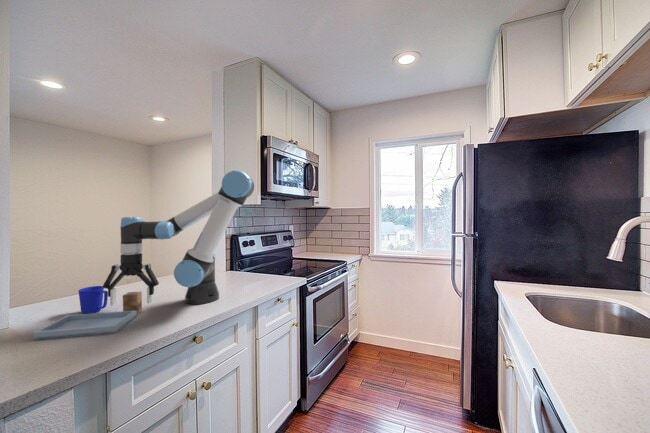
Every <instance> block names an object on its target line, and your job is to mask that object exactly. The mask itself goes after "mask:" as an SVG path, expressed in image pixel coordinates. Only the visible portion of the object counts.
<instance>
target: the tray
mask: <svg viewBox="0 0 650 433" xmlns="http://www.w3.org/2000/svg"><path fill="white" fill-rule="evenodd" d="M137 314H138V313H137V310H135V311H123V310H121V311H111V312H110V311H107V312H95V313H89V314H84V313H82V314H67V315H66V316H64V317H62V318H60V319H57V320H56V321H54V322H51V323H50V324H47V325H46V326H44V327H42V328H40V329H38V330H36V331H34V332H33V333H32V334H33V340H34V341H37V340H38V341H39V340H52V339H61V338H62V339H65V338H74V337H86V336H98V334H100V335H109V333H112V334H116V333H117V332H118V331H120V330H122V329H123V328H124V327H125V326H127V325H128V324H129V323H130V322H132V321H133V320H134V319H136V318H137V316H138V315H137ZM122 327H123V328H122Z"/></svg>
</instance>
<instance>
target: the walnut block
mask: <svg viewBox="0 0 650 433" xmlns="http://www.w3.org/2000/svg"><path fill="white" fill-rule="evenodd" d="M135 310H137V314H138V313H140V312H141V311H142V310H143V293H142V291H129V292H126V293H125V294H123V295H122V311H135Z"/></svg>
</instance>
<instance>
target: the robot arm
mask: <svg viewBox="0 0 650 433" xmlns="http://www.w3.org/2000/svg"><path fill="white" fill-rule="evenodd" d="M221 180H222V181H221V187H220V189H219V190H218V191H217V192H216V193H214V194H212V195H210V196H208V197H207V198H205V199H204V200H201V201H199V202H198V203H196V204H194V205H192V206H191V207H188V208H187V209H185V210H184V211H181V212H180V213H178V214H177V215H174V216H173V217H171V218H169V219H167V220H162V221H144V220H143V218H142V216H123V217H122V218H121V219H120V226H119V228H120V265H119V264H114V265H112V266H111V269H110V273H108V276H107V277H106V280H105V281H104V283H103V285H102V286H103V288H104V289H107V291H108V297H109V298H110V304H109V305H110V306H114V305H116V304H117V288H116V286H117V285H118V283H120V281H121V280H122V279H123V278H124V277H125V276H126V277H128V276H133V277H134V276H136V277H138V278H139V279H141V280H142V282H143V283H144V284H146V286H147V288H146V304H150V303H151V302H152V295H154V294H155V287H156V286H158V285H159V284H160V283H159V281H158V278H157V277H156V275H155V273H154V272H153V270H152V266H151V264H150V263H148V264H143V253H142V252H143V240H161V241H163V240H169V239H172V238H173V237H176V236H177V235H179V234H180V233H181V232H183V231H184V230H186V229H188V228H189V227H192V226H193V225H195V224H197V223H198V222H200V221H201V220H203V219H206V218H207V217H208V219H207V221H206V223H205V224H204V227H203V229H202V230H201V233H200V234H199V235H198V238H197V239H196V242H195V244H194V245H193V247H192V248H189V249H187V250H186V252H185V254H184V256H183V258H182V260H181V261H179V262H178V263H177V265H175V268H174V269H173V277H174V279H175V282H177V284H178V285H180V286H182V287H185V288H187V290H186V292H185V295H184V303H186V304H189V305H200V304H207V303H213V302H215V301H217V300H218V299H220V291H219V289H218V287H217V286H218V285H217V283H216V263H215V262H216V257H215V256H216V255H215V251H216V250H217V248H218V246H219V244H220V242H221V240H222V238H223V236H224V235H225V233H226V230H227V229H228V227H229V225H230V222H231V220H232V219H233V217H234V216H235V214H236V212H237V210H238V208H242V207H243V206H244V204H245V202H246V201H247V198H249V197H251V196H252V194H253V192H254V191H255V190H254V189H255V184H254V181H253V179H252V178H251V177H250V176H249V175H248V173H246V172H245V171H241V170H236V169H235V170H231V171H228V172H227V173H225V174H224V175H223V177H222V179H221ZM119 270H120V271H121V272H120V273H119V275H117V277H116V278H115V276H116V274H117V272H118V271H119ZM143 270H145V272H146V274H145V273H144V271H143ZM114 278H115V279H114ZM113 279H114V280H113Z"/></svg>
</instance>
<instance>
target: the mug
mask: <svg viewBox="0 0 650 433" xmlns="http://www.w3.org/2000/svg"><path fill="white" fill-rule="evenodd" d="M104 289H105V288H103V285H93V286H88V287H82V288H80V289H78V296H79V297H78V298H79V306H80V312H81V313H82V314H93V313H99V311H101V310H103V309H104V308H106V307H107V304H108V300H109V299H108V297H109V296H108V290H104Z"/></svg>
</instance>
